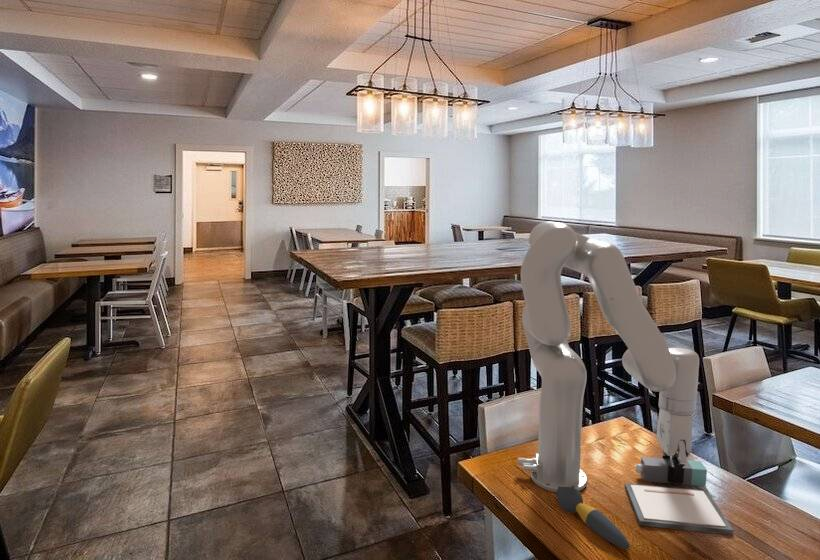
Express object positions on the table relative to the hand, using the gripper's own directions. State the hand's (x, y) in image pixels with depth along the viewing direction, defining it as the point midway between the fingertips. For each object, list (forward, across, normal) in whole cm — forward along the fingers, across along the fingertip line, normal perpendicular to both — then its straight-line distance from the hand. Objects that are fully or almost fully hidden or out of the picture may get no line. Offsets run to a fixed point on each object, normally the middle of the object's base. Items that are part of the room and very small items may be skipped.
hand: (672, 476), depth 119 cm
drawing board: (+1, +12, -3) cm, 13 cm away
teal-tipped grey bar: (+1, 0, 0) cm, 1 cm away
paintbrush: (+1, +20, -21) cm, 29 cm away
